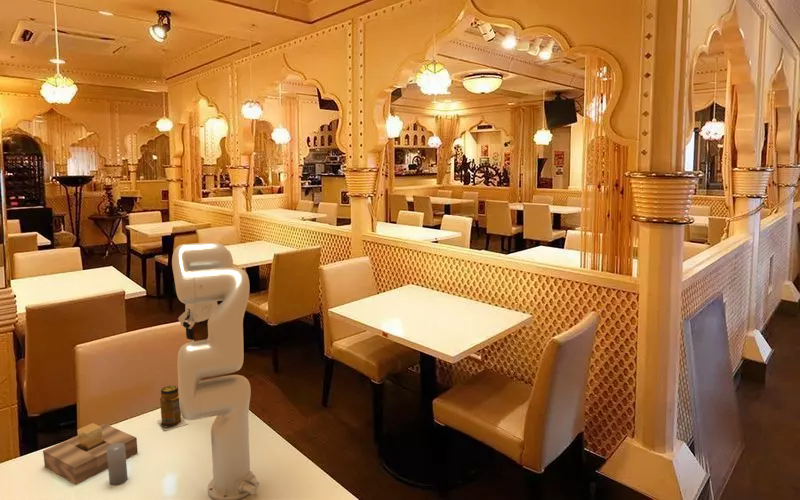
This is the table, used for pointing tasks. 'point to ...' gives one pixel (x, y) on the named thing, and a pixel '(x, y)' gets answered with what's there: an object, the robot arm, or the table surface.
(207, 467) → the table surface
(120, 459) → the round peg
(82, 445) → the square peg
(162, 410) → the condiment
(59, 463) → the socket block
